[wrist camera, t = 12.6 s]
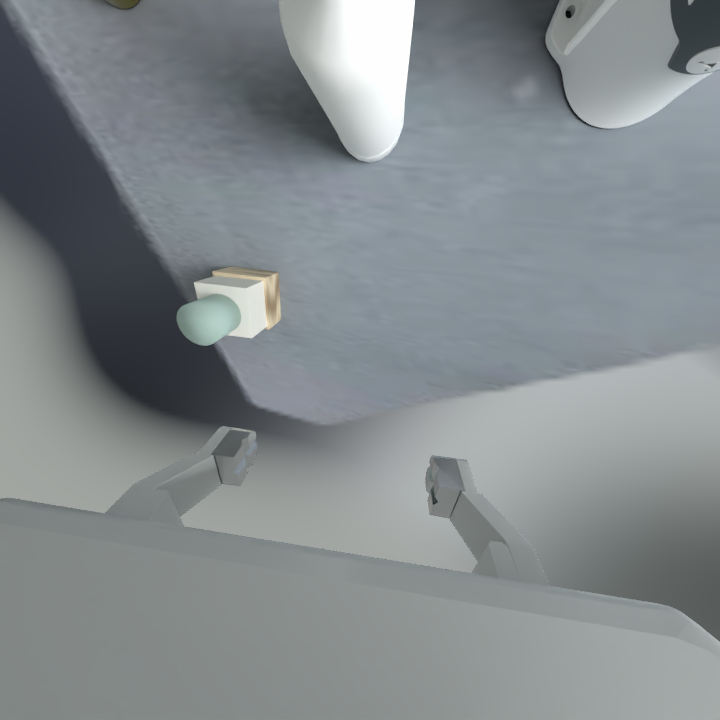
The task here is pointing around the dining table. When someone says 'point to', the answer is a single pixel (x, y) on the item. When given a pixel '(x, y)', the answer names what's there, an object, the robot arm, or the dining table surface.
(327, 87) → the bottle
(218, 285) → the tower top
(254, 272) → the tower base
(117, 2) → the yellow tiered cone
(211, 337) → the pale green rounded block
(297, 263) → the dining table surface
